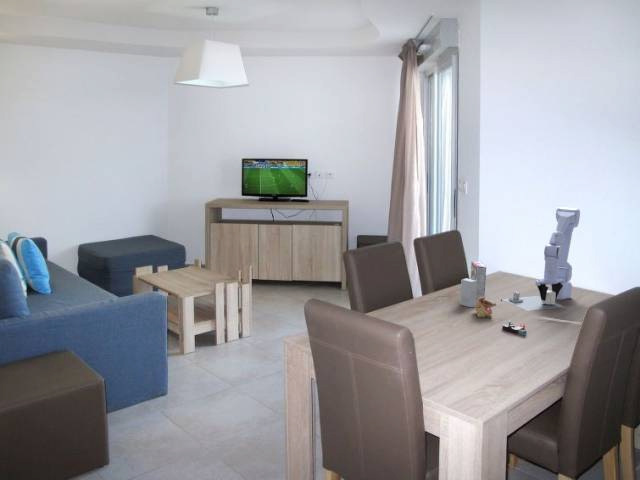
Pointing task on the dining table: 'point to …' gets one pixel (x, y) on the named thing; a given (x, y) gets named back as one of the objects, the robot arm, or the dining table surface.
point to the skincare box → (468, 292)
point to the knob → (550, 297)
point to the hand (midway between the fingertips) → (548, 299)
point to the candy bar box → (479, 277)
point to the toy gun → (514, 329)
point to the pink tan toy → (483, 307)
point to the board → (533, 303)
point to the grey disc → (516, 298)
